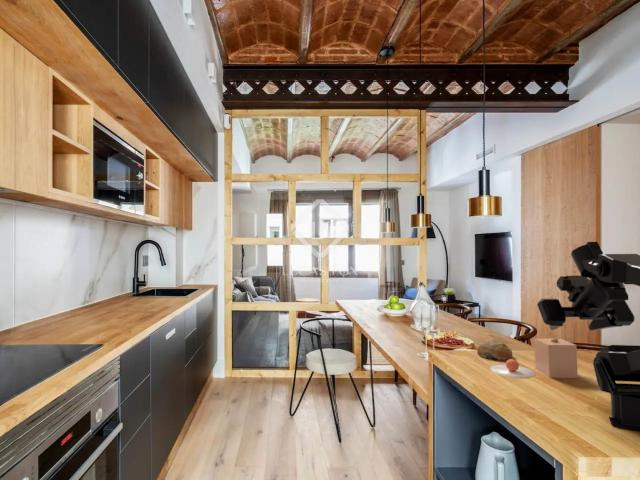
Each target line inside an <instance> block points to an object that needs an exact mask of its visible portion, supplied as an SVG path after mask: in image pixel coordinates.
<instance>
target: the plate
mask: <svg viewBox="0 0 640 480" xmlns="http://www.w3.org/2000/svg"><path fill="white" fill-rule="evenodd" d="M490 370H491V372H492V373H495V374H496V375H499V376H502V377H507V378H513V379H531V378H534V377H535V376H536V375H537V374H536V371H534V370H532V369H530V368H528V367H524V366H520V365H519V368H518V370H516V371H510V370H509V369H507V367H506V364H496V365H495V364H494V365H492V366H490Z"/></svg>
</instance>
